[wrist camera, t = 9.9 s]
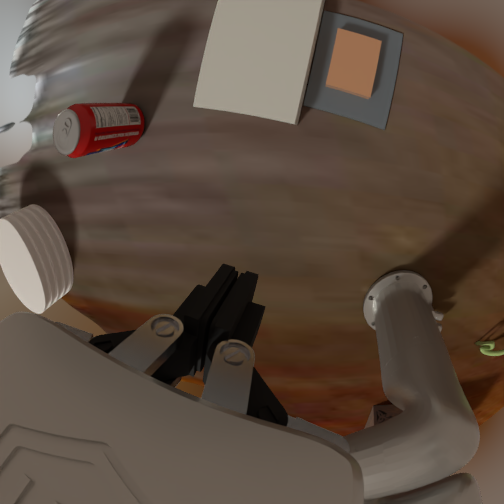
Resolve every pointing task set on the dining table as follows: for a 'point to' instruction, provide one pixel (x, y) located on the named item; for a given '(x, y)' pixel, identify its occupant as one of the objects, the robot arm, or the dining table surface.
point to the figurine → (489, 348)
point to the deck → (259, 57)
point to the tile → (353, 63)
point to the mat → (385, 77)
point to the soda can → (97, 128)
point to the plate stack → (35, 257)
